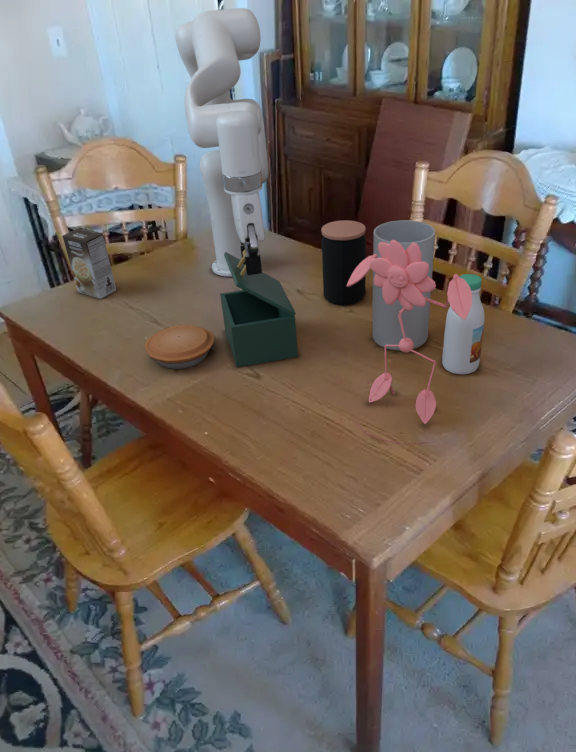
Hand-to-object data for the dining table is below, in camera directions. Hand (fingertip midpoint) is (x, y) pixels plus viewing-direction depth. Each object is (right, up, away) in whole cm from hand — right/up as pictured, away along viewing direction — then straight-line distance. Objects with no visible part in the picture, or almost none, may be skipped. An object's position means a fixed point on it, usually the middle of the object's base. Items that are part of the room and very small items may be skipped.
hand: (252, 267), depth 140 cm
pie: (-16, -18, +9) cm, 26 cm away
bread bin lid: (+1, -3, +3) cm, 4 cm away
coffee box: (-45, +3, +38) cm, 59 cm away
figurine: (+28, -32, -13) cm, 45 cm away
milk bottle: (+44, -21, 0) cm, 49 cm away
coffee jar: (+21, -1, +28) cm, 35 cm away
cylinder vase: (+33, -14, +10) cm, 37 cm away
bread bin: (+1, -15, +12) cm, 19 cm away
